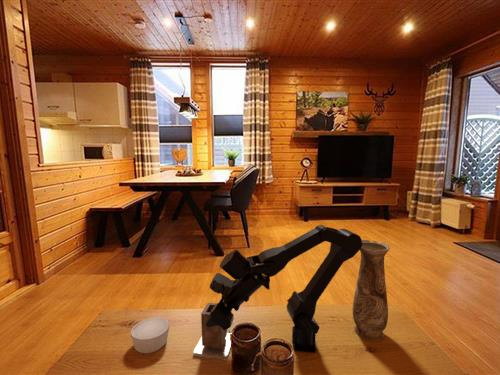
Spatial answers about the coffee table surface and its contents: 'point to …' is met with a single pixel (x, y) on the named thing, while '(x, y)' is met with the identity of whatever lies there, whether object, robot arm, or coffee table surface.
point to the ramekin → (150, 334)
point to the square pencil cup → (211, 330)
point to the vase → (371, 292)
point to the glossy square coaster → (213, 350)
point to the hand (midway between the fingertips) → (210, 319)
